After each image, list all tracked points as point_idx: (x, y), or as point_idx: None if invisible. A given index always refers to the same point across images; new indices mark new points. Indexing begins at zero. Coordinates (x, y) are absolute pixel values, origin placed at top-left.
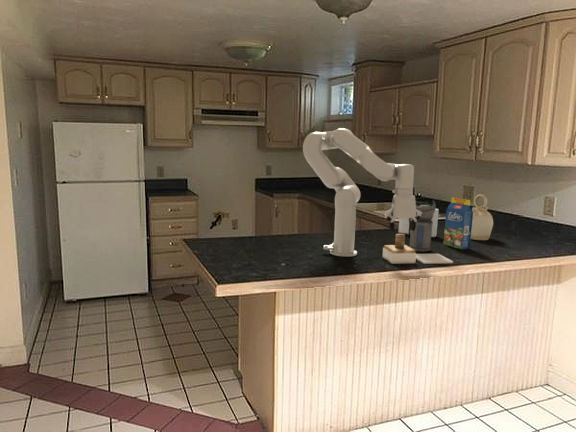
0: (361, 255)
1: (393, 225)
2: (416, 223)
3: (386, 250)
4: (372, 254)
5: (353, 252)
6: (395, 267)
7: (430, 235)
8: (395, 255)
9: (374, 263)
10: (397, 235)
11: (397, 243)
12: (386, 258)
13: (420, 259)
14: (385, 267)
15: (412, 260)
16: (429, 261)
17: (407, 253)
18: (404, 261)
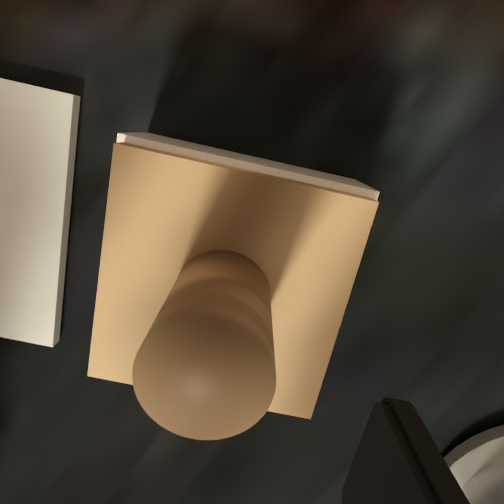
0: None
1: (458, 501)
2: None
3: None
4: (326, 435)
5: (482, 469)
6: (405, 58)
7: None
8: (340, 181)
9: (487, 221)
10: (273, 360)
11: (266, 299)
12: None
13: (60, 176)
14: (489, 85)
15: (169, 139)
16: (12, 91)
17: (215, 154)
18: (244, 155)
